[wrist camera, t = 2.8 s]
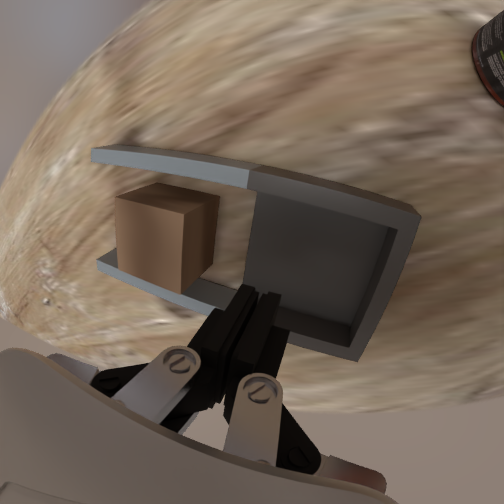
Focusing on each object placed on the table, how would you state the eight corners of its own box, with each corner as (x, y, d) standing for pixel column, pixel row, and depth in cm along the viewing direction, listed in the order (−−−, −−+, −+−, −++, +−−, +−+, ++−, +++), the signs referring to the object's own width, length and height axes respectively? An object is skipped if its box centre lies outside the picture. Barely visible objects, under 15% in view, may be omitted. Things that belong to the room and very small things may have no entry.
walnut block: (220, 195, 18) (184, 214, 14) (213, 263, 20) (180, 295, 16) (158, 182, 19) (114, 197, 15) (156, 245, 21) (118, 269, 17)
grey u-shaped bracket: (411, 205, 14) (421, 216, 12) (358, 338, 19) (357, 361, 16) (114, 144, 19) (91, 148, 17) (116, 258, 23) (97, 269, 21)
